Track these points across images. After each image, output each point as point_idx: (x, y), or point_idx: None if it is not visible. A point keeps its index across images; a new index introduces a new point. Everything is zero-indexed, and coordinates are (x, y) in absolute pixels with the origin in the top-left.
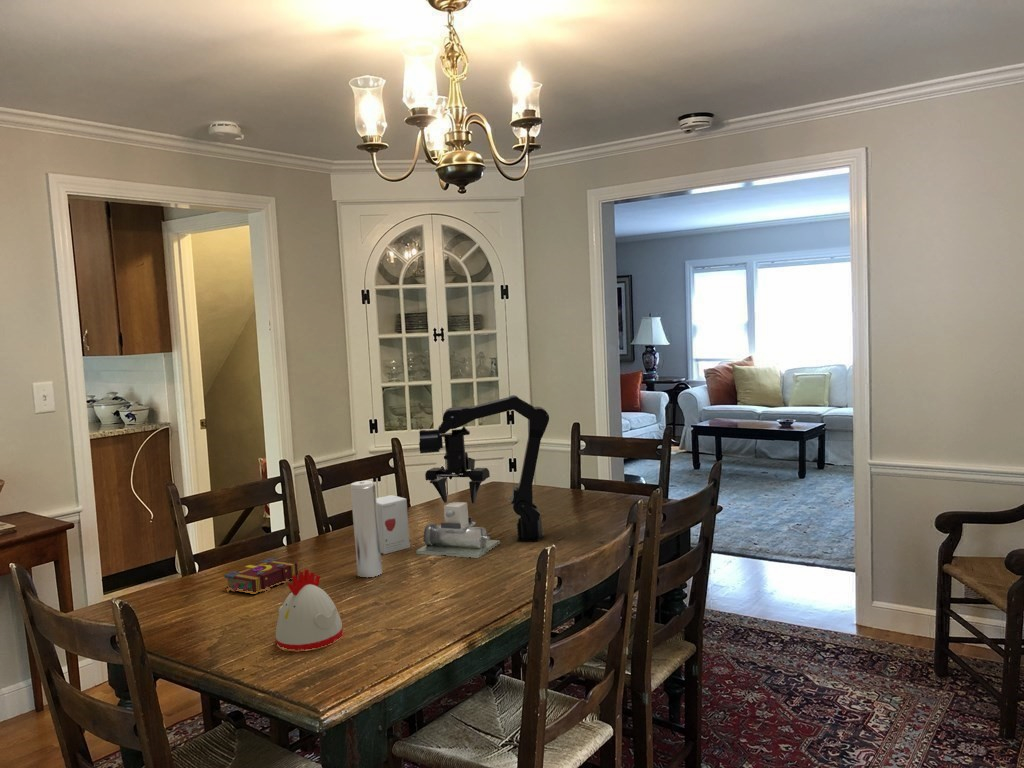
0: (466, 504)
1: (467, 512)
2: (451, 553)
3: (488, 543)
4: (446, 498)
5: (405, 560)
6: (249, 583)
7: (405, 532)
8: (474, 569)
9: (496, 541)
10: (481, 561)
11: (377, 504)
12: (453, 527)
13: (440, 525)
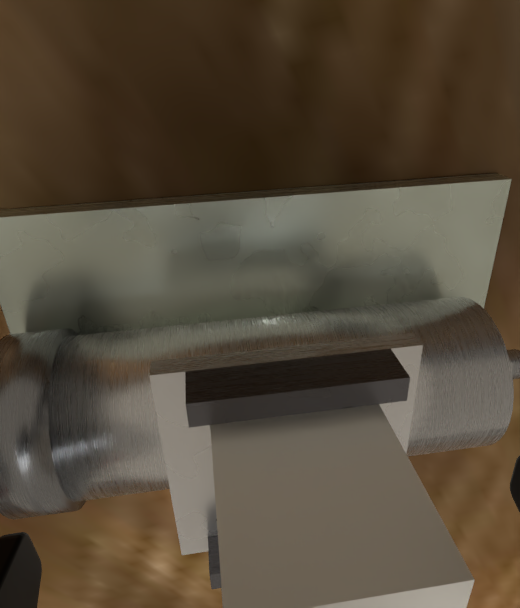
0: (459, 573)
1: (413, 475)
2: None
3: (450, 267)
4: (8, 599)
5: (96, 555)
6: None
7: None
8: (472, 528)
9: (494, 210)
10: (473, 456)
11: None
12: None
13: (120, 469)
